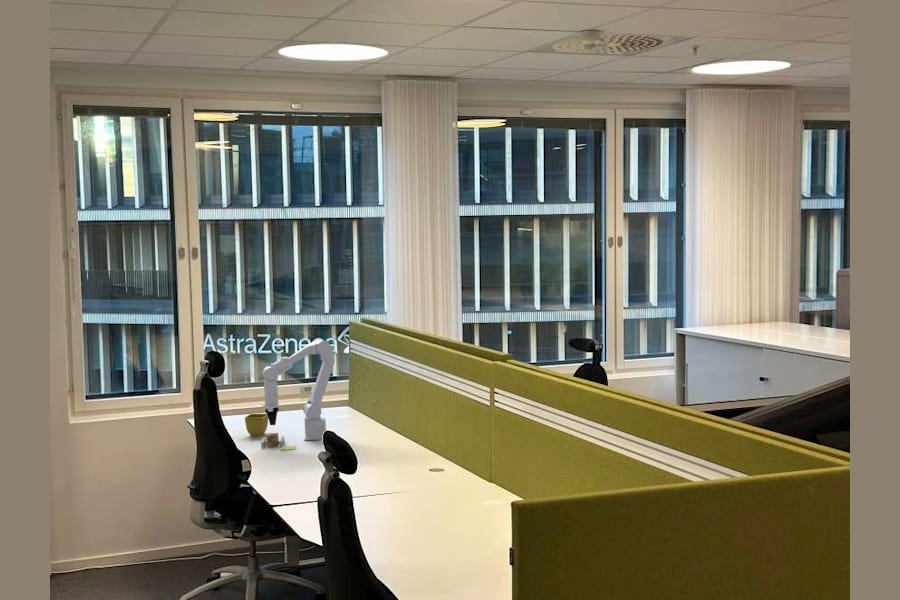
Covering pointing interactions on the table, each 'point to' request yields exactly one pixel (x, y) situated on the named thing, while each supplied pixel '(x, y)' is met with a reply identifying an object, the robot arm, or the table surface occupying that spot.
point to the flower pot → (256, 424)
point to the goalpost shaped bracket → (266, 442)
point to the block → (272, 440)
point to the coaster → (287, 448)
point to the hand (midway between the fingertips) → (272, 424)
